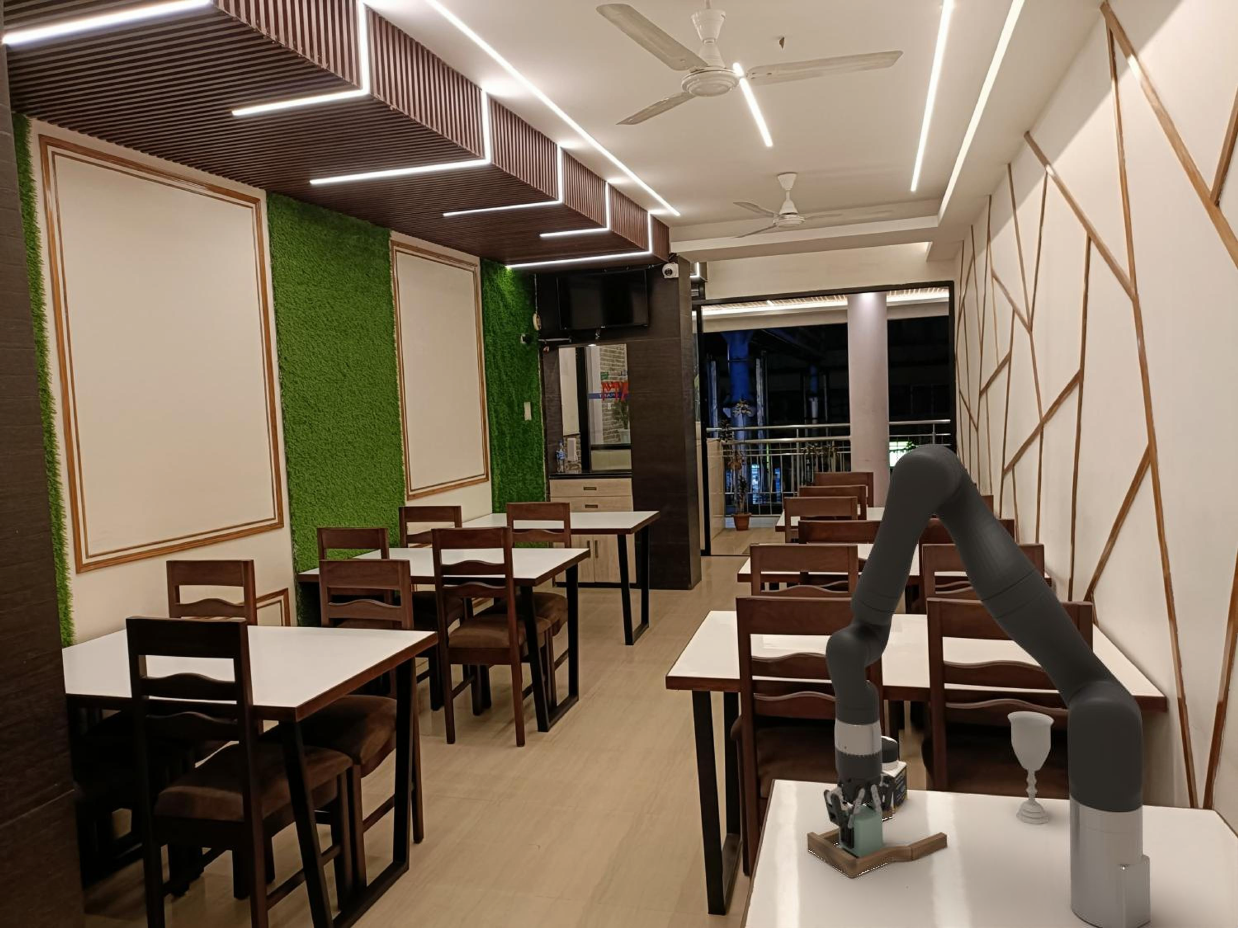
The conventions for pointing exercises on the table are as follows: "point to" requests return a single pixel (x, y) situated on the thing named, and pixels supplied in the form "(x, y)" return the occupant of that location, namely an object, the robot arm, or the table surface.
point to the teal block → (866, 832)
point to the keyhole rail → (854, 867)
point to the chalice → (1031, 756)
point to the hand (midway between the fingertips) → (861, 841)
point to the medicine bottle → (894, 771)
